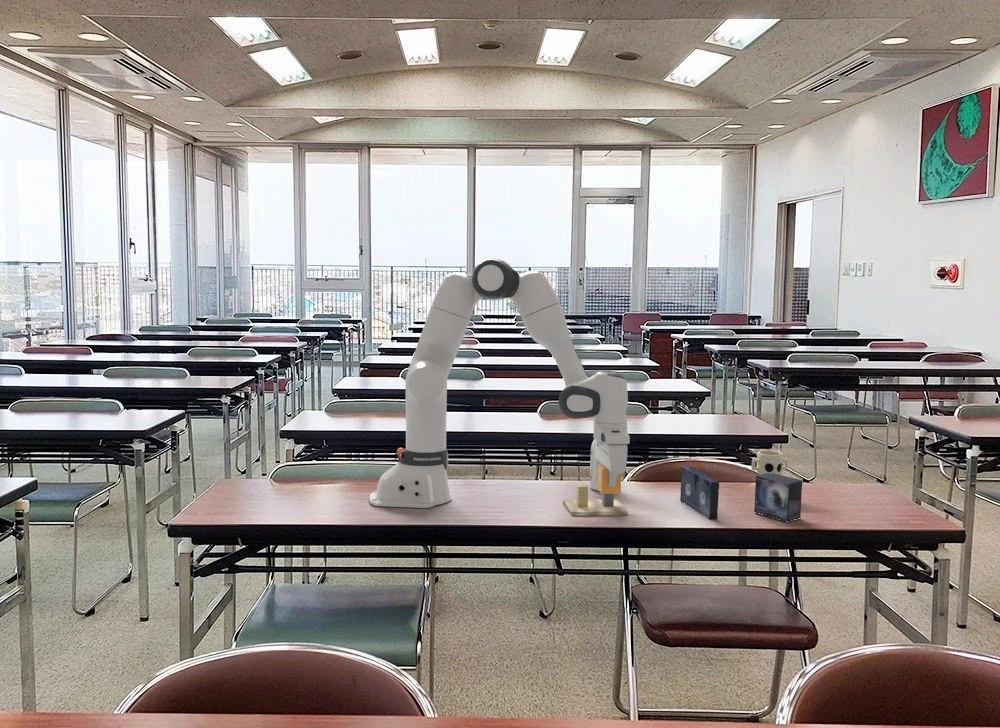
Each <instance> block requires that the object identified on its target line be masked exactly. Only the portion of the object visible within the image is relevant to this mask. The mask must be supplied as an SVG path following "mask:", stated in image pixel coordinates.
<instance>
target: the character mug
mask: <svg viewBox="0 0 1000 728" xmlns="http://www.w3.org/2000/svg"><path fill="white" fill-rule="evenodd" d="M788 466H789V460H788V459H787V458H784V453H783V452H781V451H775V450H768V449H767V450H758V451H757V455H756V458H753V459H752V460H751V470H752V471H756V474H757V475H762V474H766V473H774V474H778V475H782V474H783V472H784V471H786V470H788V468H789V467H788Z"/></svg>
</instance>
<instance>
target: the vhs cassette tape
mask: <svg viewBox="0 0 1000 728" xmlns="http://www.w3.org/2000/svg"><path fill="white" fill-rule="evenodd" d="M719 490H720V482H719V481H717V480H715V479H713V478H712V477H710V476H708V475H706V474H704V473H702V472H701V471H698V470H696V469H694V468H692V467H690V466H682V467H681V476H680V494H679V495H680V497H679V502H680V501H681V502H680V503H682V502H683V503H682V504H684V503H685V504H686V505H685V504H684V505H685V506H687V505H688V506H689V507H688V506H687V507H688V508H690V507H691V508H692V509H691V508H690V509H691V510H693V509H694V510H693V511H695V512H696V511H697V512H696V513H698V512H699V513H700V514H699V513H698V514H699V515H701V514H702V515H701V516H703V517H704V516H705V517H704V518H706V519H707V518H708V520H718V510H719V495H720V492H719Z"/></svg>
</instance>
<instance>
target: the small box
mask: <svg viewBox="0 0 1000 728" xmlns="http://www.w3.org/2000/svg"><path fill="white" fill-rule="evenodd" d="M754 487H755V489H754V490H755V491H754V509H753V512H756V513H760V514H763V515H767V516H770V517H774V518H777V519H780V520H783V521H791V520H794V519H798V518H801V519H802V517H801V515H802V513H801V512H802V511H801V510H802V494H803V493H802V492H803V491H802V490H803V480H802V479H799V478H794V477H790V476H785V475H782V474H781V475H778V474H774V473H766V474H762V475H760V474H757V475H755V486H754ZM756 513H755V514H756ZM760 514H759V515H760ZM763 515H762V516H763ZM767 516H766V517H767ZM770 517H769V518H770ZM777 519H776V520H777ZM780 520H779V521H780ZM798 520H799V519H798ZM783 521H782V522H783ZM791 522H792V521H791Z"/></svg>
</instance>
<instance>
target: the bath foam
mask: <svg viewBox="0 0 1000 728" xmlns="http://www.w3.org/2000/svg"><path fill="white" fill-rule="evenodd" d="M595 443H596V439H595V438H593V441H592V443H591V446H590V468H589V469H590V470H589V488H590V489H591V490H594V491H597V492H599V490H598V489H597V473H598V465H601V463H600V462H599V461H598V460H597V459H596V457H595Z"/></svg>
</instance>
